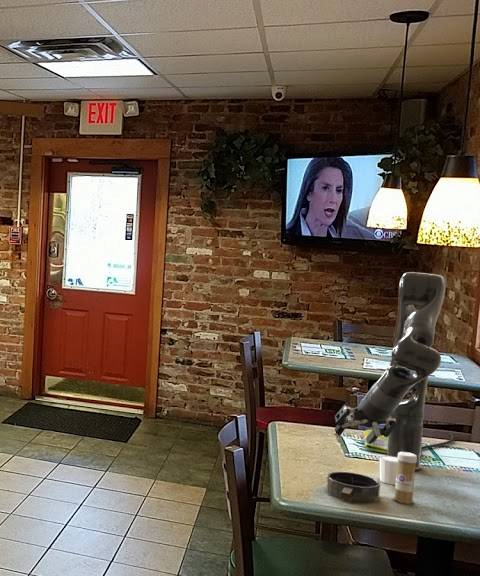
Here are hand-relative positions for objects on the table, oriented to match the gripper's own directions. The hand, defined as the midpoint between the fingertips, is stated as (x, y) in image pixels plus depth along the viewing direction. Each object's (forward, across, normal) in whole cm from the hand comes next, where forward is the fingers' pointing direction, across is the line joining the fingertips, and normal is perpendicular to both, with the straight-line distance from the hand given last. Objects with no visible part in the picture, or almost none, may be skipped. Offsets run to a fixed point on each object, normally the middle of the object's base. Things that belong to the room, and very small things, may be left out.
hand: (352, 437), depth 212 cm
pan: (+15, -6, +8) cm, 17 cm away
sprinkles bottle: (+11, -18, +8) cm, 23 cm away
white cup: (+20, -22, -6) cm, 31 cm away
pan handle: (+11, -1, +15) cm, 18 cm away
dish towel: (+40, -40, -41) cm, 70 cm away
